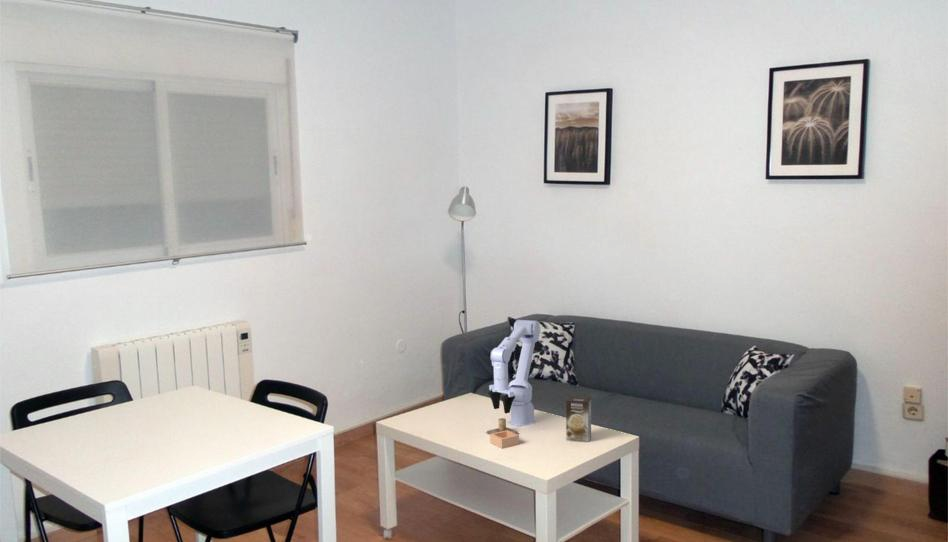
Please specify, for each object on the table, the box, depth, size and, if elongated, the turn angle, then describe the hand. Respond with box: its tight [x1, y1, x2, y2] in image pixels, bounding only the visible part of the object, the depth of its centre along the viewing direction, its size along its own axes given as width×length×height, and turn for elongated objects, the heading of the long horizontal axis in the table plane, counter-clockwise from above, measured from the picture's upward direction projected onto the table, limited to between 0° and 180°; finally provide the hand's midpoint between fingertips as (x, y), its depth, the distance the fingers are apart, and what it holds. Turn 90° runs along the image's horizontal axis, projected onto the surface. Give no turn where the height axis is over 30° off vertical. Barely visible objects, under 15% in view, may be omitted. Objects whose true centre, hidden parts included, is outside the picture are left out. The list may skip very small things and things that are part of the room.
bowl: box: [489, 430, 520, 450], centre depth 296 cm, size 8×8×4 cm
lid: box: [486, 417, 519, 435], centre depth 309 cm, size 9×9×6 cm
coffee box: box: [565, 396, 592, 443], centre depth 300 cm, size 9×6×16 cm
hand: (501, 410), depth 308 cm, fingers open, 7 cm apart
